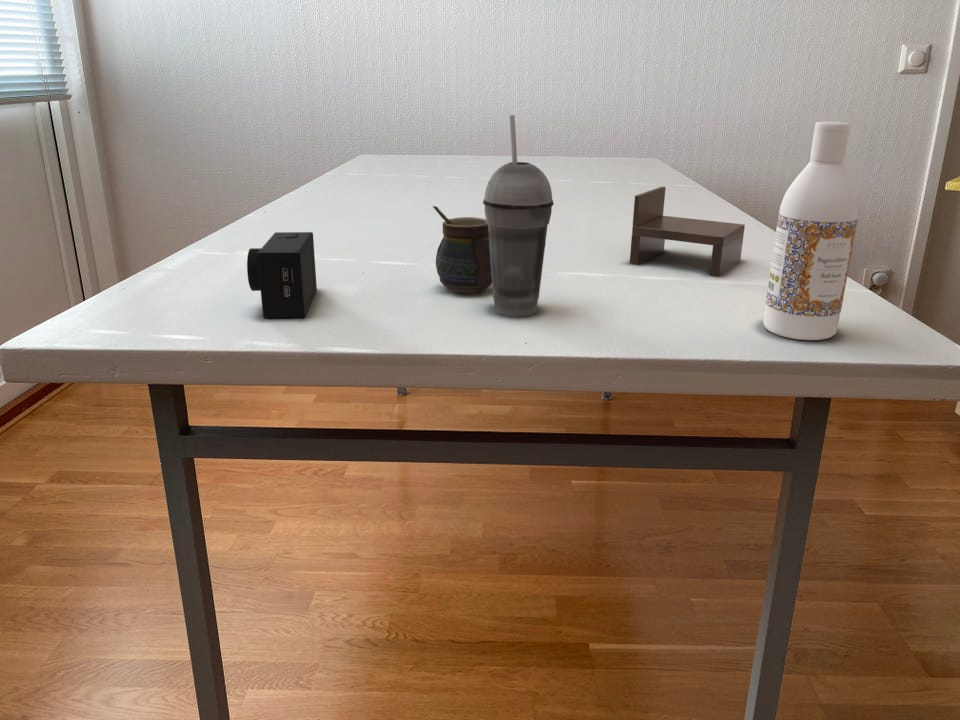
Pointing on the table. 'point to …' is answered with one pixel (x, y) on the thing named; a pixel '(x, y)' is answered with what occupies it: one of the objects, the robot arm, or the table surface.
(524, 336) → the table surface
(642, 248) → the chair
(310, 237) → the digital camera
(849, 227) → the bath foam
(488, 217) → the beverage cup
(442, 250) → the mate gourd
